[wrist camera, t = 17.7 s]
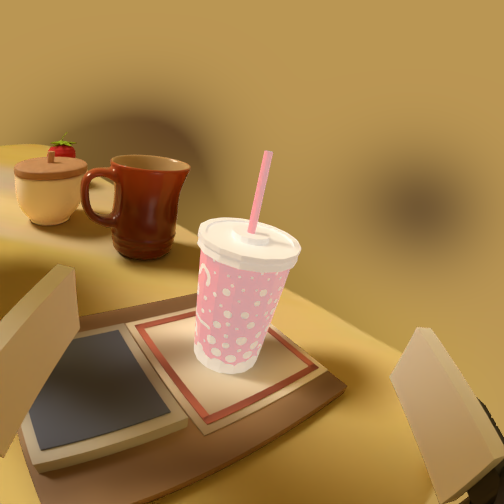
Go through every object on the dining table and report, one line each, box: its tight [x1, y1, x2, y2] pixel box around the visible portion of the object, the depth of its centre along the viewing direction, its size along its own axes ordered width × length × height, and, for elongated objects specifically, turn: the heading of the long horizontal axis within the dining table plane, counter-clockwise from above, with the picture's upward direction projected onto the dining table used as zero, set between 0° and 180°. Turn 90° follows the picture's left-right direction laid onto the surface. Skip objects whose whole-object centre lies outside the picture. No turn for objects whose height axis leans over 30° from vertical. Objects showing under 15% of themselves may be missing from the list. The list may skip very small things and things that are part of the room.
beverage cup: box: [194, 150, 301, 374], centre depth 20 cm, size 6×6×14 cm
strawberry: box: [47, 141, 75, 158], centre depth 52 cm, size 6×8×10 cm
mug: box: [80, 155, 191, 260], centre depth 34 cm, size 12×9×10 cm
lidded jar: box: [14, 151, 87, 226], centre depth 37 cm, size 11×11×9 cm
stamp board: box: [17, 293, 347, 504], centre depth 20 cm, size 15×21×2 cm
